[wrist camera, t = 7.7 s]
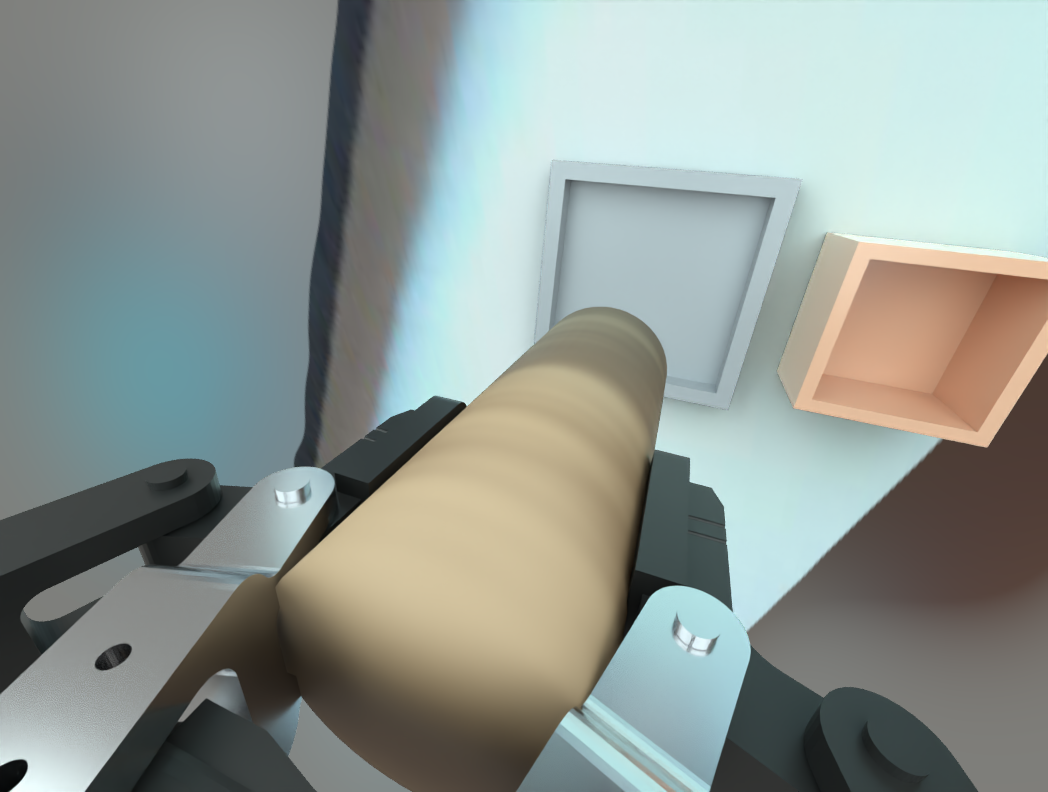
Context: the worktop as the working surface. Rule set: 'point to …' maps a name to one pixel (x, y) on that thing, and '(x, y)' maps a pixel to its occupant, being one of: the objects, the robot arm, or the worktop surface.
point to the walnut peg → (486, 567)
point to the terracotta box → (917, 335)
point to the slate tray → (667, 260)
